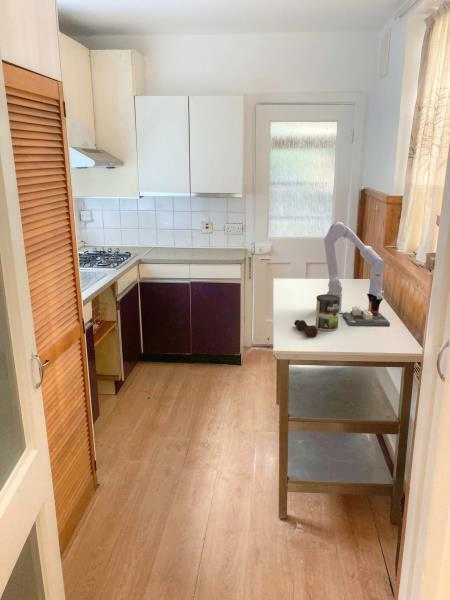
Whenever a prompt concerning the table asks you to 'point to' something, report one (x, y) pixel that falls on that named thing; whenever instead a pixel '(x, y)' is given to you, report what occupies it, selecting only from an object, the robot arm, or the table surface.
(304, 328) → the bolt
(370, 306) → the cap
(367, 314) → the toggle tagged
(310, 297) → the table surface
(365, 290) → the table surface
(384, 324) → the grey tray
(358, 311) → the toggle
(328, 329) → the coffee can
